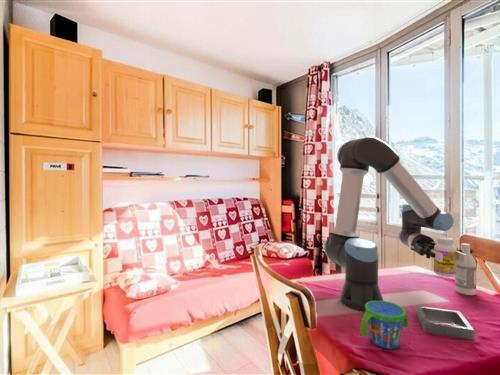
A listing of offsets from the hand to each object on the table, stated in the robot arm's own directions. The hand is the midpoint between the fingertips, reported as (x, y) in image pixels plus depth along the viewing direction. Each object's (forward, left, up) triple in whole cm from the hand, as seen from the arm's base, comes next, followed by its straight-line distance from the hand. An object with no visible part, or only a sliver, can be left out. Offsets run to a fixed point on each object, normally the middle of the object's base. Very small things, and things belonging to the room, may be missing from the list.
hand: (453, 258), depth 94 cm
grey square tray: (-5, -8, -20) cm, 22 cm away
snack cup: (-23, -24, -20) cm, 39 cm away
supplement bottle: (-1, +5, -7) cm, 9 cm away
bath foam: (+11, +26, -20) cm, 35 cm away
